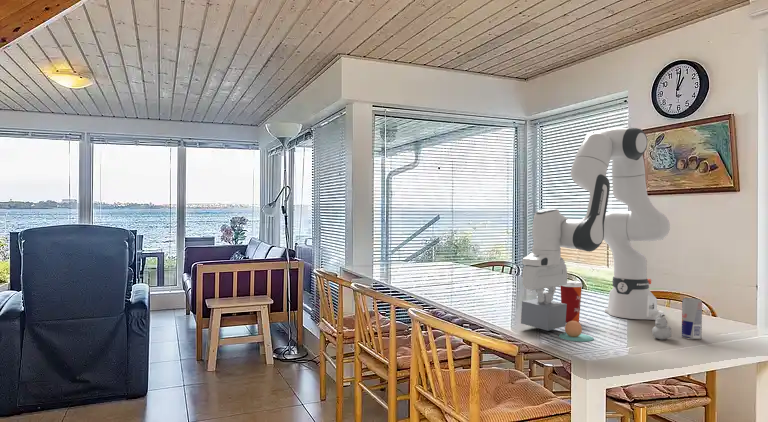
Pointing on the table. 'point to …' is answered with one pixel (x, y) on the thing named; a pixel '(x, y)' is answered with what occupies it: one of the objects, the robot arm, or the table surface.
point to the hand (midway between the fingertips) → (545, 301)
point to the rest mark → (580, 338)
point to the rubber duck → (661, 329)
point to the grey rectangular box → (544, 313)
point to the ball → (573, 328)
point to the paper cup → (572, 299)
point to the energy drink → (692, 318)
